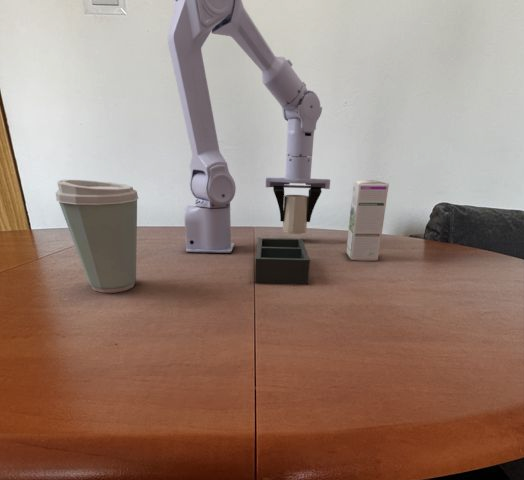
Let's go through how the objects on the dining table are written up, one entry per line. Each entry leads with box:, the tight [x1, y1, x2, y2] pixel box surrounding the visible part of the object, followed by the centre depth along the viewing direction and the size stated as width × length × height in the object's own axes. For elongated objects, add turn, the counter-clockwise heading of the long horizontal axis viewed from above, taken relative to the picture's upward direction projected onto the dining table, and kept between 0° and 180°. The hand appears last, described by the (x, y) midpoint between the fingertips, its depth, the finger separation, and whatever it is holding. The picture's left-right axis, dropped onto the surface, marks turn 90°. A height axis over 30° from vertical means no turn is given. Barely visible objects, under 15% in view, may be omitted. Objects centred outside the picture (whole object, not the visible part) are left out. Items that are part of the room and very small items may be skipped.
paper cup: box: [282, 194, 309, 235], centre depth 89 cm, size 6×6×8 cm
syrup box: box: [345, 179, 390, 262], centre depth 75 cm, size 6×6×14 cm
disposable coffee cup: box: [55, 179, 139, 294], centre depth 55 cm, size 11×11×15 cm
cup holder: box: [254, 237, 311, 285], centre depth 68 cm, size 9×16×4 cm, turn 179°
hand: (295, 221), depth 89 cm, fingers closed on paper cup, 5 cm apart
